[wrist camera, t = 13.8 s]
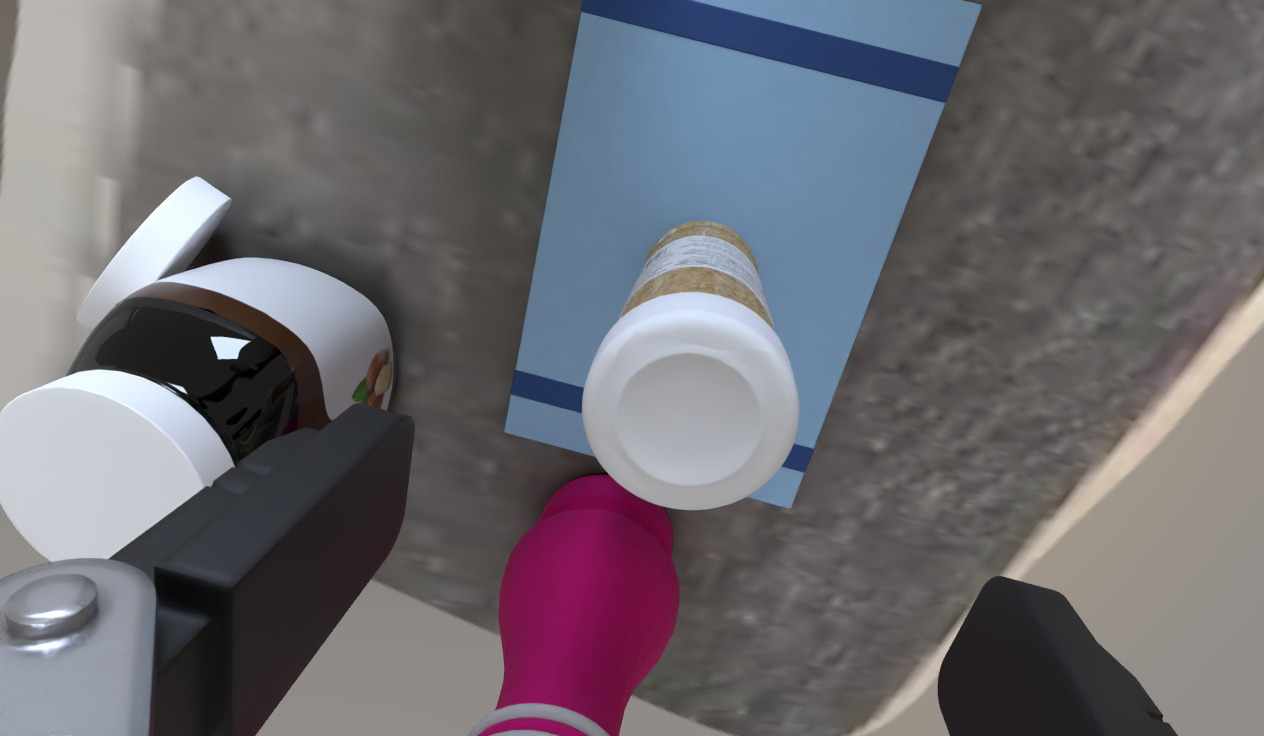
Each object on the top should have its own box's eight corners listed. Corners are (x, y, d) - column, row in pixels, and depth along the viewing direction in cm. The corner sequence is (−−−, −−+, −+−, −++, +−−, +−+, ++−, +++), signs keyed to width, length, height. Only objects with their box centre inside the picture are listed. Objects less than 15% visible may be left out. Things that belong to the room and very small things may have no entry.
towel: (602, -86, 23) (599, -91, 22) (976, 7, 23) (983, 4, 22) (507, 427, 30) (503, 433, 30) (789, 502, 30) (790, 510, 29)
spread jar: (379, 481, 32) (207, 667, 21) (153, 397, 32) (-137, 542, 21) (437, 244, 28) (257, 327, 17) (175, 145, 27) (-176, 164, 17)
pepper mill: (715, 523, 31) (717, 1149, 12) (624, 620, 33) (508, 1262, 15) (587, 433, 30) (375, 957, 11) (502, 539, 32) (215, 1112, 14)
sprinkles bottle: (696, 354, 27) (680, 555, 15) (618, 272, 27) (532, 412, 14) (784, 279, 26) (850, 432, 13) (705, 190, 25) (696, 264, 13)
